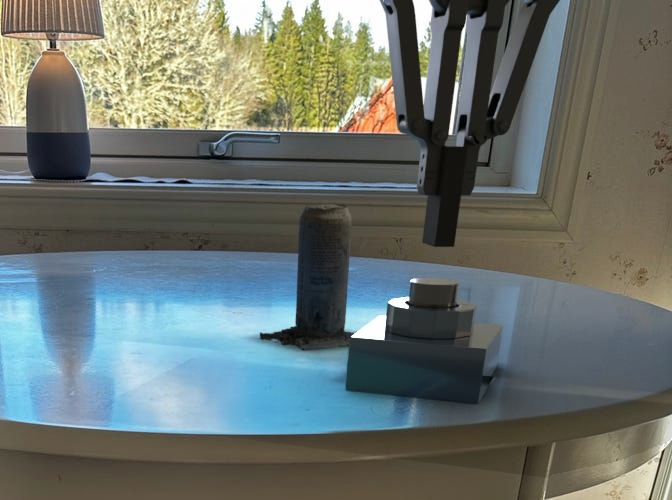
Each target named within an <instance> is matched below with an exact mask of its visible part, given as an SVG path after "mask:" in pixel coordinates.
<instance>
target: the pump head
mask: <svg viewBox="0 0 672 500" xmlns="http://www.w3.org/2000/svg"><path fill="white" fill-rule="evenodd" d="M459 287H460V281H458V280H454V279H449V278H440V277H417V278H413V279H412V278H411V280H410V282H409V289H408V291H409V292H408V297H409V299H408V306H414V307H419V308H433V309H441V308H455V307H456V304H457V300H458V295H459Z"/></svg>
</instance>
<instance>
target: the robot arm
mask: <svg viewBox="0 0 672 500" xmlns="http://www.w3.org/2000/svg"><path fill="white" fill-rule="evenodd" d="M523 1H524V3H522V5H521V8H520V10H519V11H518V14H517V16H516V19H515V22H514V25H513V28H512V29H511V33H510V36H509V39H508V42H507V45H506V48H505V51H504V54H503V56H502V60H501V62H500V66H499V68H498V70H497V74H496V77H495V80H494V83H492V82H493V75H494V67H495V62H496V55H497V47H498V39H499V32H500V30H501V29H502V27H503V25H504V24H503V23H504V20H505V19H504V18H505V10H506V6H507V5H508V3H509V2H510V0H428V2H429V4H430V6H431V7H432V8H431V16H430V26H429V27H430V33H431V37H430V45H429V46H430V47H429V54H428V55H429V56H428V64H427V71H426V72H427V73H426V81H425V90H424V96H423V86H422V85H423V84H422V74H421V63H420V52H419V40H418V28H417V18H416V10H415V4H414V0H379V2H380V5H381V7H382V9H383V12H384V13H385V22H386V31H387V32H386V33H387V41H388V52H389V61H390V71H391V80H392V89H393V100H394V108H395V109H394V110H395V119H396V127H397V131H398V132H399V133H400V134H405V135H407V136H408V137H411V138H413V139H415V140H417V142H418V143H419V146H420V155H419V156H420V157H419V163H418V172H417V180H416V189H417V193H418V195H422V196H427V199H426V208H425V216H424V222H423V223H424V224H423V232H422V240H421V243H422V244H425V245H428V246H431V247H434V248H454V247H455V245H456V244H455V242H456V237H457V230H458V229H457V228H458V222H459V213H460V207H461V199H462V196H471V195H472V193H473V191H474V189H475V183H476V176H477V169H478V161H479V156H480V155H479V154H480V149H481V147H482V146H483V145H485V144H486V143H487V141H488V140H492V139H493V138H496V137H498V136H505V135H506V134H507V133H508V132H509V130H510V128H511V125H512V123H513V119H514V116H515V114H516V111H517V108H518V105H519V103H520V100H521V97H522V94H523V91H524V88H525V86H526V83H527V80H528V77H529V75H530V71H531V69H532V67H533V64H534V60H535V58H536V55H537V52H538V50H539V46H540V43H541V41H542V38H543V35H544V32H545V29H546V27H547V25H548V22H549V18H550V16H551V14H552V13H553V11H554V10H555V8H556V7H557V6H558V5H559V3H560V1H561V0H523ZM464 28H465V30H466V34H467V37H466V43H465V51H464V60H463V70H462V77H461V85H460V91H459V100H458V108H457V116H456V124H455V132H454V140H455V142H456V143H455V145H446V142H447V140H448V139H449V135H450V128H451V127H450V126H451V120H452V119H451V118H452V112H453V104H454V97H455V87H456V82H457V81H456V79H457V72H458V64H459V55H460V47H461V43H462V42H461V41H462V32H463V30H464ZM492 84H493V86H492Z"/></svg>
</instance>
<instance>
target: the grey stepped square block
mask: <svg viewBox="0 0 672 500" xmlns="http://www.w3.org/2000/svg"><path fill="white" fill-rule="evenodd" d="M408 299H409V296H405V297H398V298H391V300H389V301H388V302H387V303H386V314H385V315H378V316H377V317H376V318H373V320H372V321H369V323H367V324H366V325H364V326H363V327H362V328H361V329H359V330H358V332H357V331H355V332H354V333H355V334H354V335H352V336H351V337H350V339H349V347H348V351H347V365H346V373H345V374H346V375H345V376H346V377H345V387H344V390H345V391H349V392H356V393H357V392H359V393H367V394H378V395H384V396H385V395H386V396H397V397H404V398H405V397H406V398H415V399H425V400H433V401H443V402H452V403H463V404H470V405H471V404H472V405H479V403H480V401H481V399H482V397H483V396H484V395H485V393H486V391H487V389H488V387H489V385H490V384H491V382H492V381H493V379H494V377H495V376H493V374H494V371H495V370H496V368H497V365H498V359H499V353H500V347H501V340H502V334H503V328H504V326H503V324H495V323H484V322H483V323H482V322H476V315H477V309H478V305H477V304H475V303H473V302H470V301H467V300H462V299H457V304H456V307H455V308H441V309H433V308H419V307H414V306H408Z"/></svg>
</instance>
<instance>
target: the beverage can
mask: <svg viewBox="0 0 672 500" xmlns="http://www.w3.org/2000/svg"><path fill="white" fill-rule="evenodd" d="M305 205H306V206H305V207H304V209H303V210H302V212H301V214H300V217H299V220H298V221H299V222H298V224H299V225H298V246H297V249H298V250H297V271H296V273H297V274H296V275H297V277H296V279H297V280H296V301H295V302H296V304H295V307H296V308H295V322H294V323H295V325H294V326H289V327H290V328H284V329H281V330H279V331H272V332H271V333H269V332H259V337H258V339H260V340H267V341H271V342H274V341H273V340H277V341H276V343H279V342H280V343H281V345H282V346H286V345H287V346H288V345H290V346H294V347H296V348H298V349H299V351H303V350H304V351H305V352H306V351H316V350H327V349H335V348H336V349H337V348H347V347H348V348H349V339H350V337H351V336H352V335H354V334H355V333H356V332H358V331H359V330H358V331H356V332H355V331H353V332H351V331H346V330H345V327H346V319H347V318H346V317H347V304H348V303H347V300H348V290H349V289H348V286H349V285H348V283H349V274H350V273H349V270H350V258H351V243H352V242H351V241H352V239H351V238H352V226H353V217H352V216H351V213H350V210H349V208H348V205H346V204H344V203H343V204H342V203H331V204H315V205H314V204H310V205H307V204H305Z"/></svg>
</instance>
